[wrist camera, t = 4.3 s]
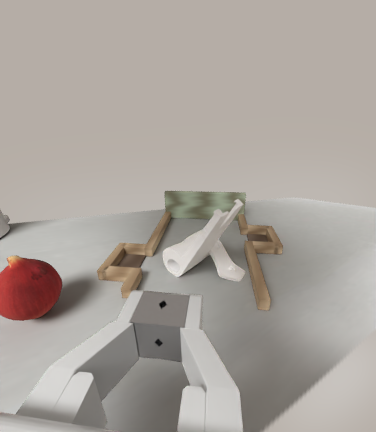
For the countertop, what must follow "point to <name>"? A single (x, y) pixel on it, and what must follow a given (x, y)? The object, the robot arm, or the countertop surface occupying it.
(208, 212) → the trap lane
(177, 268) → the plastic part
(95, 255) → the countertop surface
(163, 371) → the countertop surface
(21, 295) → the onion
